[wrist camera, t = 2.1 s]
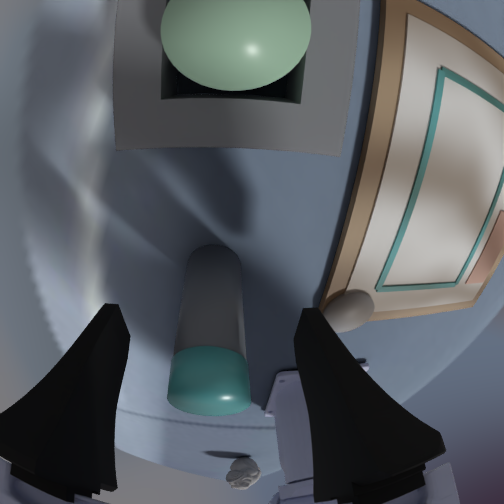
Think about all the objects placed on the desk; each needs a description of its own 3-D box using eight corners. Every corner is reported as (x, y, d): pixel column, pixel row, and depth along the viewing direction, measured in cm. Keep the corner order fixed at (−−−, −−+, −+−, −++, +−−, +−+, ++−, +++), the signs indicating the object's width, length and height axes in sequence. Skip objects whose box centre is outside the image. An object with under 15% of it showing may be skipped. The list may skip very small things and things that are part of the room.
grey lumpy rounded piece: (240, 452, 38) (243, 488, 32) (267, 456, 41) (270, 487, 36) (217, 457, 40) (218, 489, 34) (244, 460, 43) (246, 490, 38)
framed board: (467, 306, 18) (472, 313, 17) (313, 322, 17) (316, 334, 16) (544, 103, 7) (553, 107, 7) (381, -11, 6) (391, -16, 5)
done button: (282, 90, 8) (304, 97, 6) (180, 87, 8) (157, 92, 5) (290, 3, 6) (315, -24, 4) (186, -2, 6) (167, -31, 3)
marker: (240, 287, 14) (248, 416, 9) (188, 286, 14) (174, 414, 9) (243, 244, 13) (254, 385, 7) (184, 243, 13) (159, 382, 7)
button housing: (318, 139, 10) (339, 157, 8) (139, 133, 9) (116, 150, 7) (335, -17, 6) (361, -36, 4) (148, -26, 5) (126, -47, 3)
